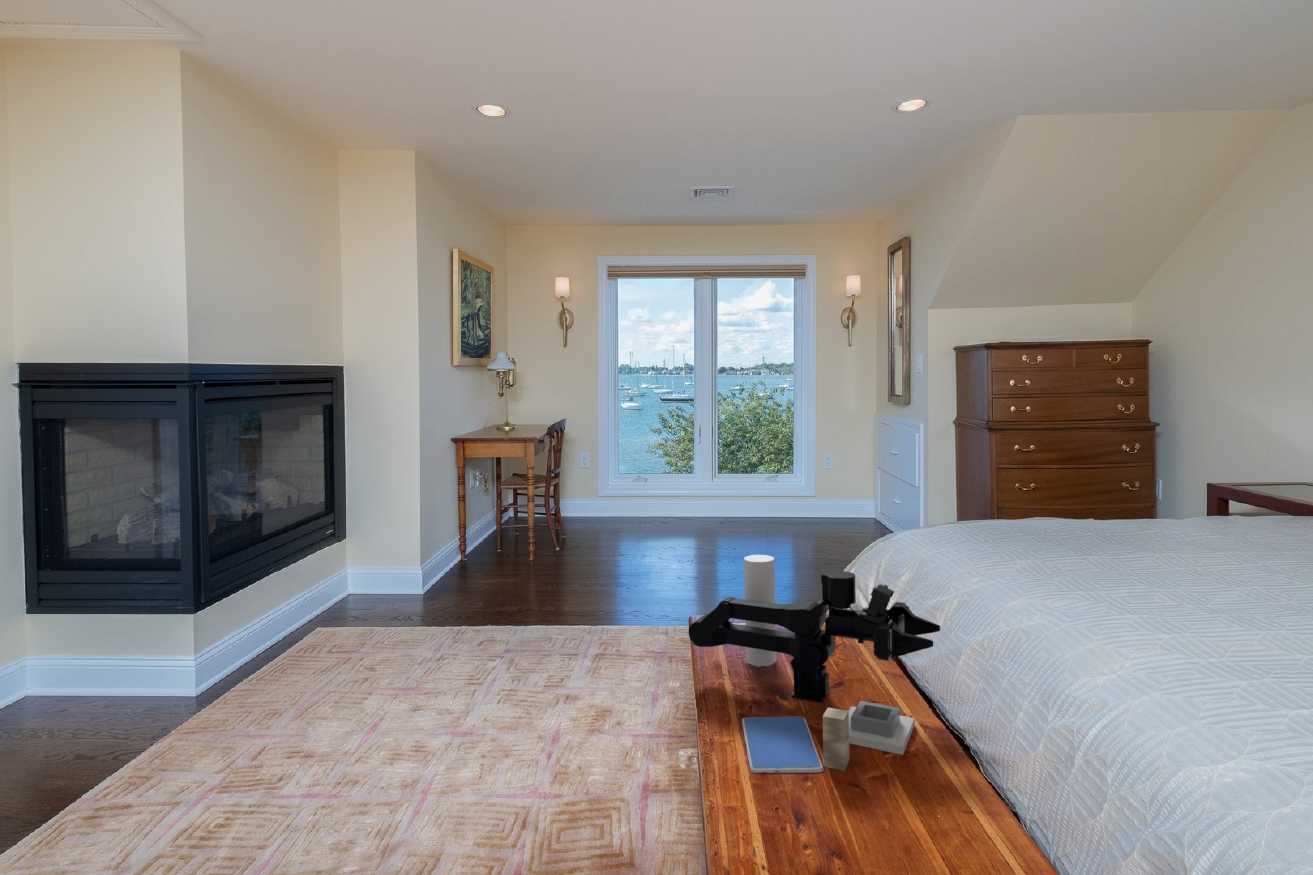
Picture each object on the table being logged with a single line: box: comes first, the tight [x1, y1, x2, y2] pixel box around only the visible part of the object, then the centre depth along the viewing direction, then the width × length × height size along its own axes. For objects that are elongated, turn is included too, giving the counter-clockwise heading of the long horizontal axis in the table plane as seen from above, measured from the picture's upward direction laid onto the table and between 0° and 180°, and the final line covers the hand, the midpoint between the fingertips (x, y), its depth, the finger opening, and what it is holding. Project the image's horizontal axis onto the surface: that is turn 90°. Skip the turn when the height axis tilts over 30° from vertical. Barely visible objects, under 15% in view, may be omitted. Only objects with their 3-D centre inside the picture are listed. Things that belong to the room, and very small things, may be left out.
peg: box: [822, 707, 850, 772], centre depth 124 cm, size 4×4×9 cm
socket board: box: [848, 700, 916, 756], centre depth 135 cm, size 12×12×4 cm
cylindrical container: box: [743, 554, 777, 668], centre depth 170 cm, size 7×7×25 cm
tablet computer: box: [741, 716, 824, 774], centre depth 132 cm, size 19×13×1 cm, turn 178°
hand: (936, 635), depth 138 cm, fingers open, 9 cm apart
